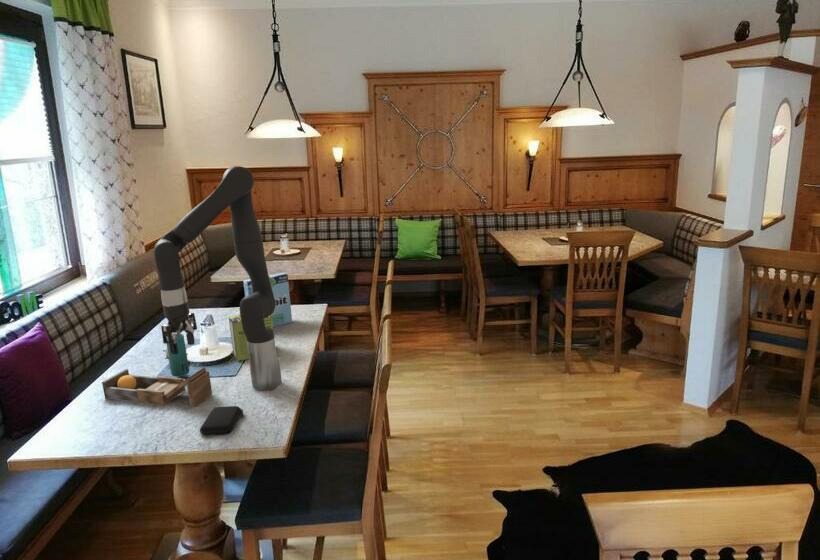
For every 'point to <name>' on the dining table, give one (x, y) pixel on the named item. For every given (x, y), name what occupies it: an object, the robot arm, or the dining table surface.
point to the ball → (126, 382)
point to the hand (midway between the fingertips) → (183, 349)
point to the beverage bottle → (178, 358)
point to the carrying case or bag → (221, 420)
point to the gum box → (277, 297)
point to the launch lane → (160, 388)
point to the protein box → (242, 336)
